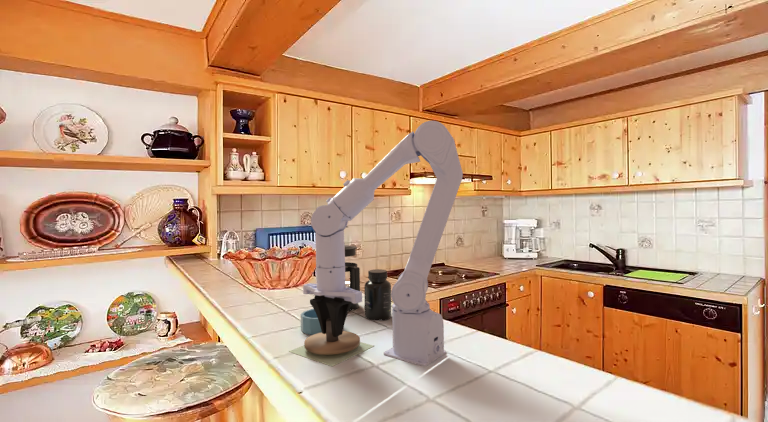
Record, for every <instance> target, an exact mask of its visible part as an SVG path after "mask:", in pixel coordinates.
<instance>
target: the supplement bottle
mask: <svg viewBox="0 0 768 422" xmlns="http://www.w3.org/2000/svg"><path fill="white" fill-rule="evenodd" d="M367 279H368V280H367V281H366V282H365V283H364V317H365V319H366V320H369V321H370V320H371V321H387V320H389V319H391V317H392V297H391V292H392V284H391V282H390V281H389V280H387V279H388V271H387V270H386V269H377V268H376V269H369V270H368V274H367Z"/></svg>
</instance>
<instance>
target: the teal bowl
mask: <svg viewBox="0 0 768 422" xmlns="http://www.w3.org/2000/svg"><path fill="white" fill-rule="evenodd" d="M300 330H301V332H302V333H303V334H306V335H309V336H312V335H314V334H317V333H321V332H322V331H321V327H320V323H319V320H318V317H317V315H316V312H315V310H314V309H313V308H311V309H310V308H309V309H307V310H304V311H303V312H301V313H300Z"/></svg>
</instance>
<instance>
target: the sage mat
mask: <svg viewBox="0 0 768 422" xmlns="http://www.w3.org/2000/svg"><path fill="white" fill-rule="evenodd" d="M374 347H375V345H372V344H369V343H365V342H361V341H360V345H359V346H358V347H357V348H356V349H354V350H351V351H349V352H345V353H341V354H333V355H322V354H315V353H311V352H309V351H307V350H306V349H305V347H304V345H302V346H299V347H297V348H294V349H291V350H288V353H291V354H295V355H298V356H300V357H303V358H306V359H309V360H312V361H315V362H318V363H320V364H323V365H327V366H329V367H334V366H336V365H339V364H341V363H342V362H345V361H347V360H349V359H351V358H353V357H355V356H357V355H359V354H361V353H364V352H365V351H367V350H369V349H371V348H374Z"/></svg>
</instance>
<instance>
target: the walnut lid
mask: <svg viewBox="0 0 768 422" xmlns="http://www.w3.org/2000/svg"><path fill="white" fill-rule="evenodd" d="M303 342H304V345H303V346H304V347H305V349H306V350H307V351H309V352H311V353H315V354H322V355H333V354H341V353H345V352H349V351H351V350H354V349H356V348H357V347H358V346H359V345H360V342H361V337H360V336H359V335H358V334H356V333H354V332H351V331H345V330H343V333H342V335H339V336H337V337H333V335H332V328H331V318H330V319H327V320H326V334H322V332H321V333H317V334H314V335H309V336H308V337H306V339H305V340H304V341H303Z"/></svg>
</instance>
